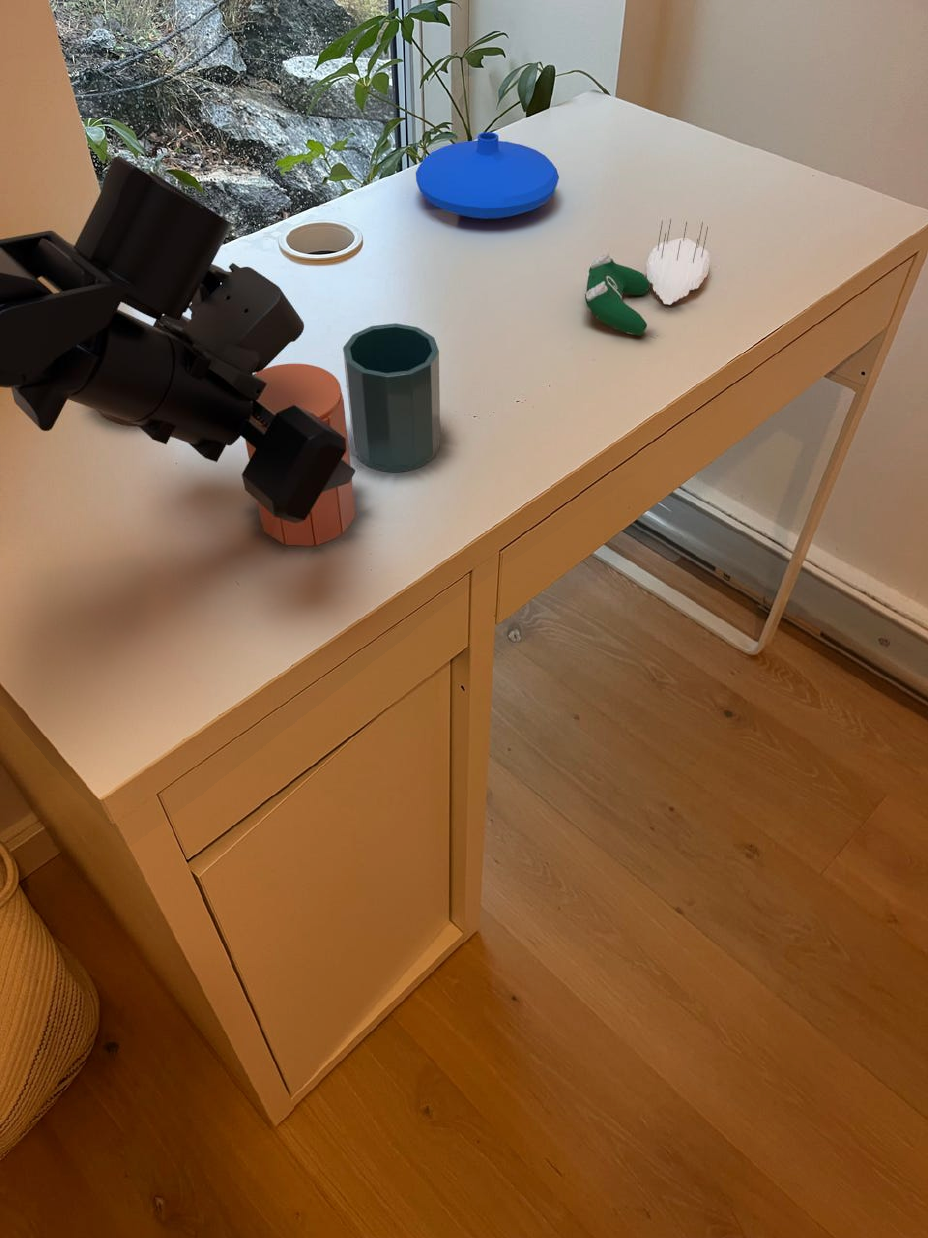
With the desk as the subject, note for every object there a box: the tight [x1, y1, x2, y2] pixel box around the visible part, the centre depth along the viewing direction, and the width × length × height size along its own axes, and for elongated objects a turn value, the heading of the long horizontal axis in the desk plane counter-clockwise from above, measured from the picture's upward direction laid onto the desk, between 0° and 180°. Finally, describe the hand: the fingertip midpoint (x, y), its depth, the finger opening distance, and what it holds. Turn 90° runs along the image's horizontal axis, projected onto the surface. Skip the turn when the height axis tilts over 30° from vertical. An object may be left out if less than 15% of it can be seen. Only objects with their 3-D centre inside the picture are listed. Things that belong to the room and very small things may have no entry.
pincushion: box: [645, 218, 711, 306], centre depth 96 cm, size 12×6×6 cm, turn 163°
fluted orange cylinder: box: [244, 363, 356, 547], centre depth 70 cm, size 7×7×11 cm
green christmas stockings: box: [584, 252, 651, 337], centre depth 92 cm, size 9×4×6 cm
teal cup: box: [342, 322, 441, 473], centre depth 76 cm, size 7×7×9 cm
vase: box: [415, 131, 560, 220], centre depth 106 cm, size 16×16×7 cm
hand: (314, 446), depth 70 cm, fingers open, 8 cm apart
